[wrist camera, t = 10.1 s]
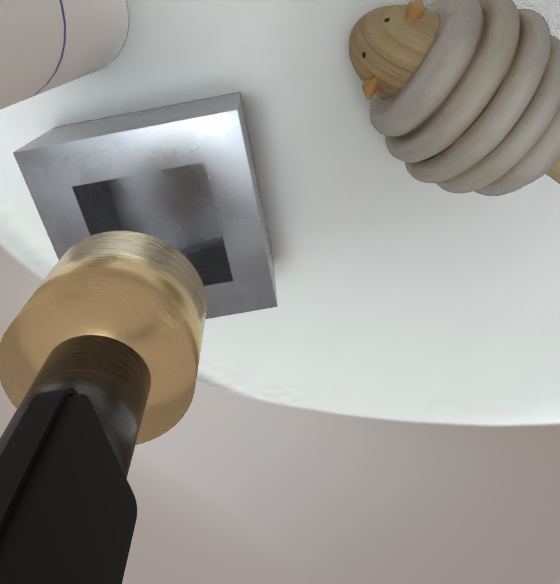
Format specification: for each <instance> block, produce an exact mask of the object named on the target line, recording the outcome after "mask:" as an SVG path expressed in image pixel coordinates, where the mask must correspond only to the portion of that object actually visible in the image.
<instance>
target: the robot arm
mask: <svg viewBox="0 0 560 584" xmlns="http://www.w3.org/2000/svg"><path fill="white" fill-rule="evenodd" d="M136 517H137V504H136V500H135V496H134V494H133V492H132V490H131V487H130V485H129V483H128V481H127V479H126V477H125V474H124V472H123V470H122V468H121V466H120V464H119V462H118V459H117V457H116V455H115V453H114V451H113V449H112V446H111V444H110V442H109V440H108V438H107V436H106V433H105V431H104V429H103V427H102V425H101V423H100V420H99V418H98V416H97V414H96V412H95V410H94V407H93V405H92V403H91V401H90V399H89V397H88V396H87V395H85V394H80V395H79V394H78V392H77V391H76V390H75V389H74V388H64V389H58V390H53V391H47V392H41V393H38V394H36V395H35V396H34V397H33V399H32V400H31V402H30V404H29V406H28V407H27V409H26V411H25V413H24V414H23V416H22V418H21V420H20V422H19V423H18V425H17V427H16V429H15V431H14V432H13V434H12V436H11V438H10V439H9V441H8V443H7V445H6V447H5V448H4V450H3V452H2V454H1V455H0V584H122V580H123V576H124V571H125V567H126V562H127V558H128V553H129V549H130V545H131V540H132V536H133V532H134V527H135V523H136Z"/></svg>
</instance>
